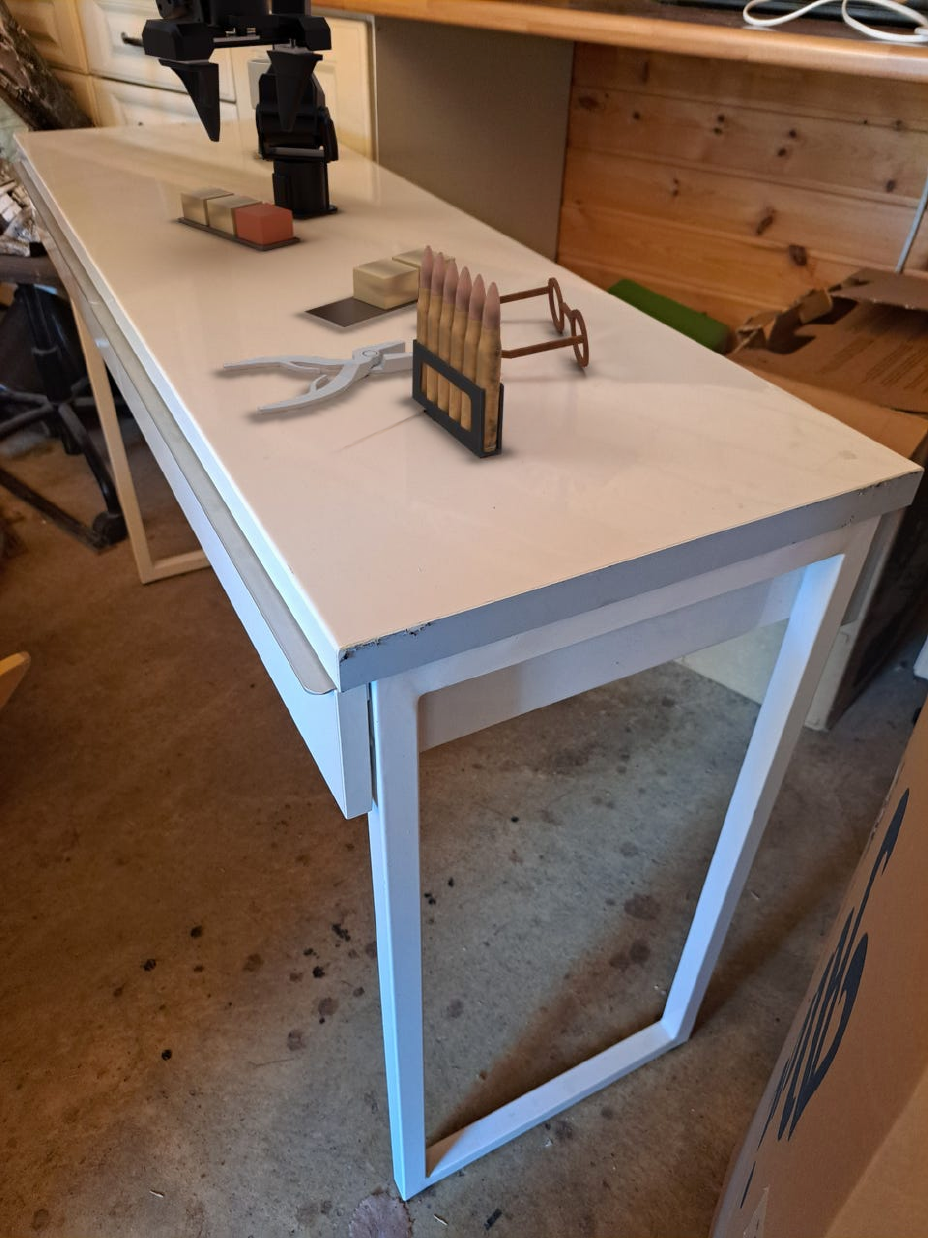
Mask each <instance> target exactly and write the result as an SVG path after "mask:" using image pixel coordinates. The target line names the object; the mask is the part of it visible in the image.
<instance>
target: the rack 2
mask: <svg viewBox="0 0 928 1238" xmlns="http://www.w3.org/2000/svg"><path fill="white" fill-rule="evenodd" d="M425 249H426V247H421V248H417V249H414V250H410V251H406V252H403V253H400V254H396V255H392V256H391V259H390V258H381V259H378V260H376V261H370V262H368V263H364V264H360V265H357V266H353V267H352V268H351V269H352V289H353V291H352V292H353V296H350V297H346V298H343V299H340V300H337V301H334V302H330V303H327V304H324V305H320V306H318V307H314V308H311V309H308V310H305V311H304V313H306V314H309V315H311V316H314V317H317V318H319V319H322V320H324V321H327V322H329V323H331V324H335V325H336V326H339V327H342V328H347V327H349V326H352V325H355V324H358V323H361V322H364V321H368V320H371V319H373V318H377V317H380V316H383V315H385V314H388V313H391V312H395V311H397V310H400V309H403V308H407V307H410V306H413V305H415V304H418V299H419V286H420V271H421V263H422V258H423V254H424V251H425ZM432 252H433V256H434V261H435V260H436V257H437V255H438V253H439V252H440V251H435V250H432ZM442 254H443V257H444V259H445V263H446V268H448V265H449V263H450V261H451V259H454V260H455V261H456V257H454V256H451V255H448V254H445V253H442Z"/></svg>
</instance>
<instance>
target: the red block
mask: <svg viewBox="0 0 928 1238" xmlns="http://www.w3.org/2000/svg"><path fill="white" fill-rule="evenodd" d="M235 216H236V224H237V232H238V237H240V238H243V239H246V240H249V241H252V242H255V243H258V244H261V245H266V244H270V243H274V242H279V241H283V240H287V239H291V238H294V236H295V234H294V223H293V222H294V221H293V216H292V211H291V210H288V209H285V208H281V207H278V206H275V205H273V204H271V203H268V202H264V203H262V204H259V205H254V206H249V207H244V208H239V209H235Z"/></svg>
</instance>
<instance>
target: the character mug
mask: <svg viewBox="0 0 928 1238" xmlns="http://www.w3.org/2000/svg"><path fill="white" fill-rule="evenodd" d="M270 64H271V61H270V59H269V57H256V58H249V59H247V60H246V66H247V77H248V85H249V87H248V88H249V94H250V104H251V108H252V110H254V111H256V106H257V104H258V103H259V86H258V81H259V79H260V76H261V74H262V73H264V74H266V72H267V70H268V68H269V66H270ZM257 148H258V150H257V151H258V155H260V156H262V153H261V148H260V143H259V138H258V137H257Z"/></svg>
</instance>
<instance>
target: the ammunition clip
mask: <svg viewBox="0 0 928 1238" xmlns="http://www.w3.org/2000/svg"><path fill="white" fill-rule="evenodd" d="M431 247H432V246H431V245H429V244H427V245H426V247H425V251H424V254H423V258H422V263H421V271H420V286H419V299H418V303H416V304H417V305H416V338H414V339H412V353H413V366H412V369H411V371H412V372H411V373H412V374H411V375H412V376H411V398H412V399H413V400H414V401H415V402H417V403H418V404H419V405H420V406H422V408H424V409H423V410H422V411H423V412H424V413H425V414H426V415H427V416H428V417H430V418H431V419H432V420H433V421H434V422H436V423H437V424H439V426H441V427H442V428H443V429H444V430H445V431H446V432H447V433H449V434H450V435H451V436H452V437H454V438H455V439H456V440H457V441H458V442H460V443H461V444H462V445H464V447H466V448H467V449H468V450H469V451H470V452H471V453H473V454H474V455H475V456H477V457H478V458H480V459H481V458H484V457H488V456H492V455H497V454H500V453H502V451H503V450H502V448H503V425H504V400H505V399H504V398H505V385H504V383H502V382H501V372H502V358H501V356H502V350H503V347H502V339H501V332H502V331H501V315H502V313H501V304H500V299H499V296H500V293H499V290H498V286H497V283H496V282H495V281H492V282H491V283H490V285H489V287H488V290H487V292H486V287H485V283H484V279H483V276H482V274H481V273H477V275H476V276H475V278H474V281H473V283H472V277H471V273H470V271H469V267H468V266H467V265H465V266H463V267H462V269H461V272H460V274H459V270H458V265H457V263H456V259H455V260H454V259H451V261H450V263H449V265H448V268H446V263H445V259H444V257H443V254H444V253H443V252H441V251H438V252H439V253H438V255H437V257H436V260H435V261H434V256H433V252H432V251H433V250H432V248H431Z"/></svg>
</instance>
